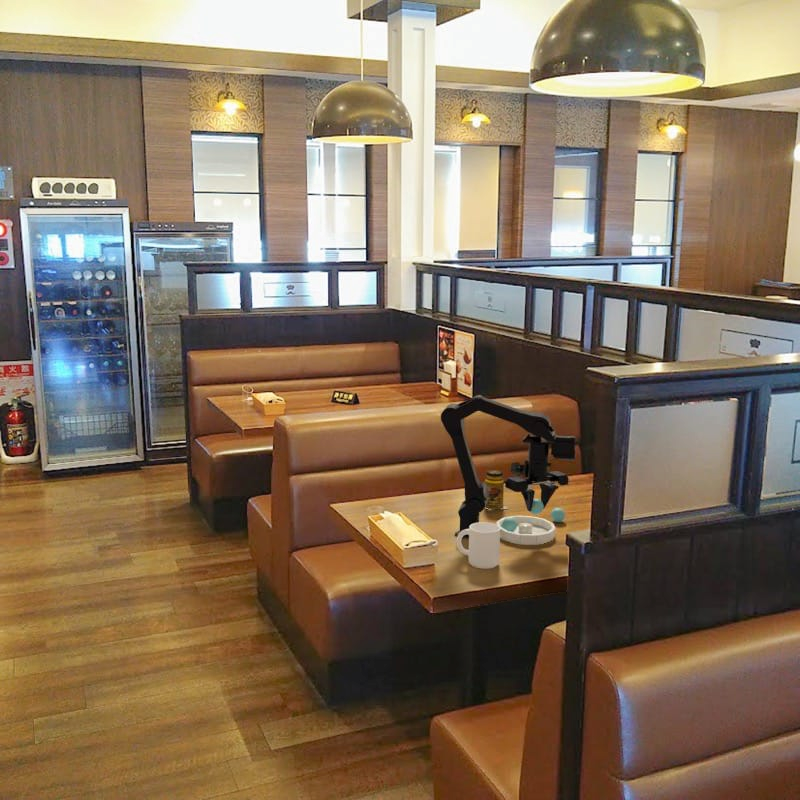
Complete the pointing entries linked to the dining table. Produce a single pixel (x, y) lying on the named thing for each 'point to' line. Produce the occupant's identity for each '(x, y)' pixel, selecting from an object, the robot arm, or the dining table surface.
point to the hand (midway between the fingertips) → (535, 509)
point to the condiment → (495, 489)
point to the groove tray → (528, 539)
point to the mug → (481, 544)
